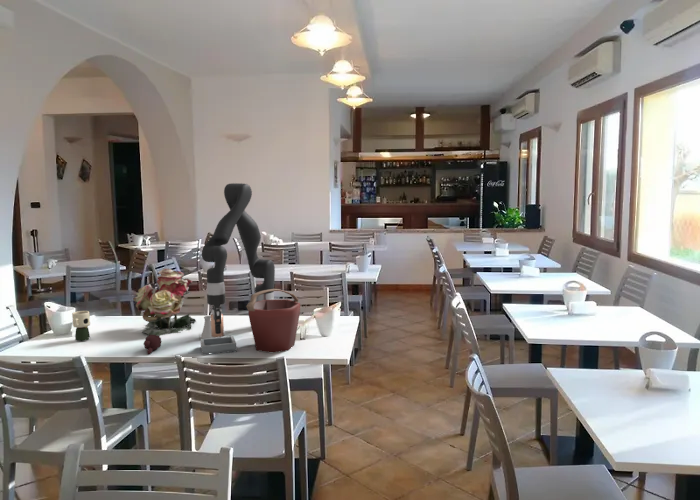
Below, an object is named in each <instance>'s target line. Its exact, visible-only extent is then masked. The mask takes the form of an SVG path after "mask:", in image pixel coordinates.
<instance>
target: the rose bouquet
mask: <svg viewBox="0 0 700 500" xmlns="http://www.w3.org/2000/svg"><path fill="white" fill-rule="evenodd" d="M184 274H185V272H182V271H178V270H173V269H172V268H171V269H170V268H169V267H166V268H162V269H161V270H159V271H158V276H157V280H156V283H157V284H158V287H159V288H157V289H156V288H153V285H151V283H149V284H146V285H144V286H142V287H140V288H139V289H138V292H136V293H135V295H136V296H135V297H133V302H136V304H135V307H136V308H137V310H138V311H137V312H142V319H143V320H144V321H145V322H148V323H147V324H146V325H145V327H141V328H144V330H141V331H142V333H145V334H147V336H149V335H156V336H163V335H164V336H165V335H169V334H176V333H177V334H180V333H181V332H183V331H184V330H185V331H191V330H192V323H191V322H193V323H196V322H197V321H196V320H197V319H195V318H193V317H191V316H190V314H191V312H189V313H188V314H185V315H183V316H179V317H178V314H179V313H181V309H182V306H183V305H184V302H185V296H186V295H191V294H192V291H189V289H190V287H189V286H190V284H192V283H193V280H191V279H189V278H184ZM173 316H174V317H173ZM172 317H173V318H172Z"/></svg>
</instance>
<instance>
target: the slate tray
mask: <svg viewBox="0 0 700 500" xmlns="http://www.w3.org/2000/svg"><path fill="white" fill-rule="evenodd" d="M200 350H201V355H202V354H206V355H210V354H209V353H216V354H221V353H220V352H226V353H233V352H232V351H236V352H237V342H236V339H235V337H234V335H232V336H230V335H229V336H222V337H216V338H207V339H200Z"/></svg>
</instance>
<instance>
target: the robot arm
mask: <svg viewBox="0 0 700 500" xmlns="http://www.w3.org/2000/svg"><path fill="white" fill-rule="evenodd" d="M252 192H253V191H252V188H251V186H250V185H249V184H248V183H242V182H241V183H236V182H235V183H234V182H233V183H228V184H226V185H225V186H224V190H223V194H224V198H225V202H226V204H227V206H228V208H229V211H228V212H227V213H226V214H224V216H222V218H220V220H219V221H218V223H217V225H216V227H215V230H214V232H213V234H212V236H211V237H210V238H209V239H208V241H207V242H206V243H205V245H204V246H203V248H202V250H201V258H202V260H203V261H204V262H205V263H207V262H208V263H214V266H213V267H209V268H208V269H207V270H206V300H207V301H206V304H207V305H209V306H212V307H211V314H213V319H214V320H215V333H216V334H220V333H221V319H222V315H221V314H222V312H223V310H222V309H223V308H222V306H221V305H224V304H225V303H226V285H225V268H226V263H227V259H228V252H227V249H226V247H224V245H227V244H228V243H229V241H230V239H231V237H232V234H233V233H234V232H233V231H234V229H235V227H236V228H237V230H238V233H239V237H240V240H241V243H242V245H243V248H244V251H245V255H246V259H247V263H248V268H249V272H250V274H251V276H252V277H253V278H255V279H263V283H261V284H259V285H256V286H255V287H254V293H257V292H260V291H263V290H269V289H275V278H276V277H275V275H276V273H275V270H276V269H275V268H276V267H275V263H274V261H273V260H271V259H262V258H259V256H258V252H257V251H258V247H259V245H260V242H261V240H262V239H261V238H262V236H261V231H260V229H259V226H258V224H257V222H256V221H255V219H254V218H253V217H252V216H251V215H250V214H249V213H247V211H246V208H247V207H248V206H249V203H250V202H251V199H252V195H253V193H252ZM262 300H275V291H271V292H267V293H264V294H261V295H259V296H257V298H256V302H257V301H262ZM214 315H215V316H214ZM218 319H219V322H216V320H218Z"/></svg>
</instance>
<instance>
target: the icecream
mask: <svg viewBox="0 0 700 500" xmlns="http://www.w3.org/2000/svg"><path fill="white" fill-rule="evenodd" d="M162 342H163V341H162V337H160V335H158V336H156V335H147V336H146V337H145V339H144V341H143V346H144V348H145V349H146V354H147V355H151V354H152V353H153V351H156V350H158V349H159V348H161V346H162Z"/></svg>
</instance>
